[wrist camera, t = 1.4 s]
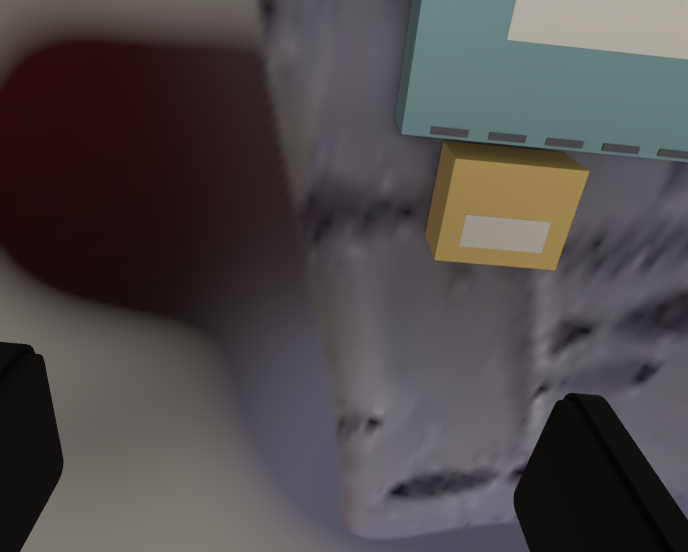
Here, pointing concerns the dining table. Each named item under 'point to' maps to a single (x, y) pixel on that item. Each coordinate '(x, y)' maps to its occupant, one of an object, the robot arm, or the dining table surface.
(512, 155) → the yellow labeled box
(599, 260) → the dining table surface
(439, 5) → the teal labeled router
